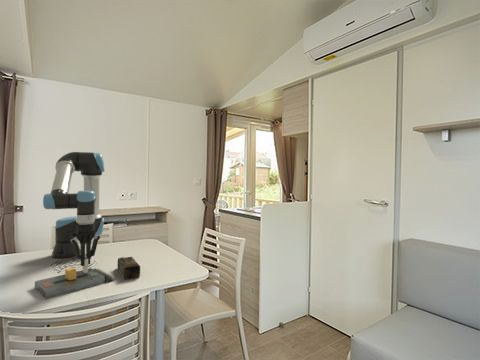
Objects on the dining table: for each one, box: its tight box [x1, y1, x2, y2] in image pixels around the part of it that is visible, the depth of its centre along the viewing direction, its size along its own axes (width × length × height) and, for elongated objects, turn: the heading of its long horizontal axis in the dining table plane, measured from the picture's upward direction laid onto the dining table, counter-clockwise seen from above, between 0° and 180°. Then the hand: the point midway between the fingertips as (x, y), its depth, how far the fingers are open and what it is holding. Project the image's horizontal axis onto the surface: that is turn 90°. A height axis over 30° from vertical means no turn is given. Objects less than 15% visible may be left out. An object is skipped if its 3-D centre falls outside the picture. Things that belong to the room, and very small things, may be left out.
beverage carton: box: [117, 256, 141, 281], centre depth 148 cm, size 8×19×7 cm, turn 33°
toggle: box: [64, 267, 77, 280], centre depth 130 cm, size 5×3×4 cm, turn 50°
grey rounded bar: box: [92, 268, 116, 282], centre depth 141 cm, size 17×4×2 cm, turn 50°
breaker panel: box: [34, 268, 106, 300], centre depth 130 cm, size 16×24×3 cm, turn 140°
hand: (85, 271), depth 135 cm, fingers closed
